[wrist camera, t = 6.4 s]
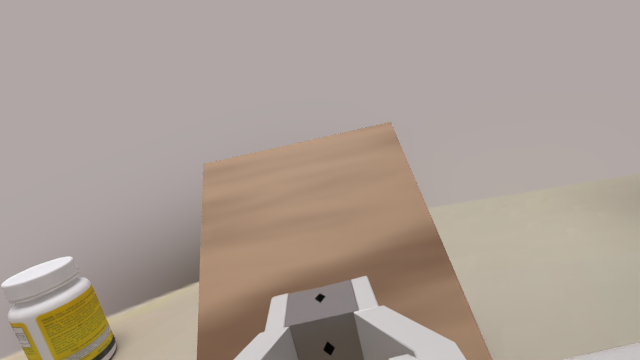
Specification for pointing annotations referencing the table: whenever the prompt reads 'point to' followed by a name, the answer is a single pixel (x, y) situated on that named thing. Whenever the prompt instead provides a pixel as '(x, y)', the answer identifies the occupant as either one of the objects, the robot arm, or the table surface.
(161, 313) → the table surface
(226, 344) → the walnut block
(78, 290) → the supplement bottle
